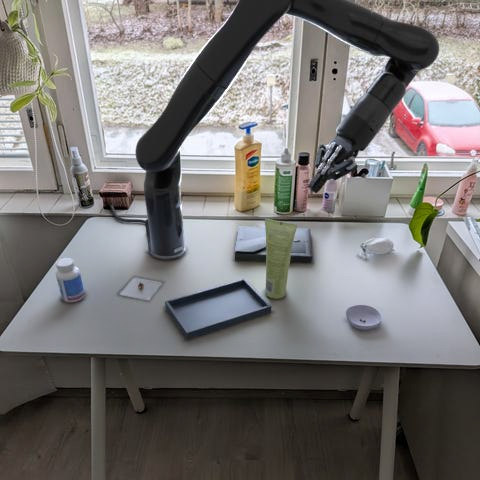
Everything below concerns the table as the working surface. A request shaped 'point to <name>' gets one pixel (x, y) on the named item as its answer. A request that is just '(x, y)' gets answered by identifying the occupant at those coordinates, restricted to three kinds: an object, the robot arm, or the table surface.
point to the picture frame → (254, 245)
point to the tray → (216, 308)
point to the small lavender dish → (363, 317)
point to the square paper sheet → (141, 288)
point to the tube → (278, 256)
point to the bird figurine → (376, 246)
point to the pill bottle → (69, 280)
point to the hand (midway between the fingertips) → (311, 190)
